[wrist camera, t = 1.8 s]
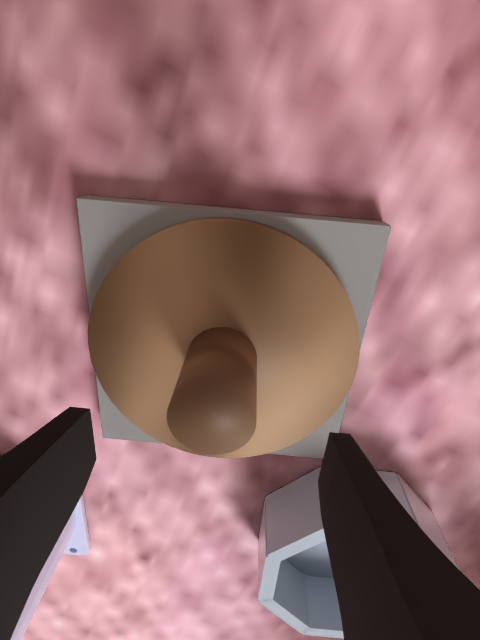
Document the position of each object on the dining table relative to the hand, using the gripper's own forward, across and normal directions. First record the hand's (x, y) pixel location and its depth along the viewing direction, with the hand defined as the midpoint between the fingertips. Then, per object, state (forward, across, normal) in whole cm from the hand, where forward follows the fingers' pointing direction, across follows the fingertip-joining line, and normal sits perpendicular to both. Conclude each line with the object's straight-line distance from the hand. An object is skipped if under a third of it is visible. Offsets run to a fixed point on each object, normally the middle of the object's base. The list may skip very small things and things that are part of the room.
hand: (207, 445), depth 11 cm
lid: (+6, 0, 0) cm, 6 cm away
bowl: (+7, -8, +13) cm, 16 cm away
